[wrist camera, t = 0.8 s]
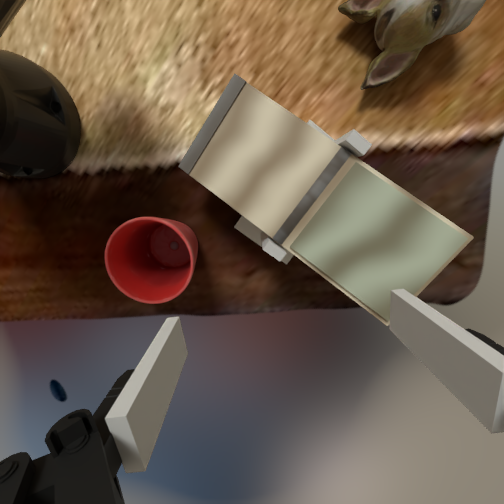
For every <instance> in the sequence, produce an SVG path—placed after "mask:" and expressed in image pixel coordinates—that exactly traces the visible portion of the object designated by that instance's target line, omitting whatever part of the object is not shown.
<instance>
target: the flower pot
mask: <svg viewBox="0 0 504 504" xmlns="http://www.w3.org/2000/svg"><path fill="white" fill-rule="evenodd" d="M197 253H198V241H197V238H196V235H195V234H194V232H193V231H192V230H191V229H190V228H189V227H188V226H187V225H185V224H184V223H181V222H179V221H175V220H170V219H163V218H157V217H139V218H134V219H131V220H129V221H127V222H125V223H123V224H122V225H120V226H119V227H118V228H117V229H116V230H115V231H114V232H113V233H112V234H111V236H110V238H109V240H108V242H107V244H106V249H105V265H106V269H107V272H108V275H109V277H110V278H111V280H112V282H113V283H114V285H115V286H116V287H117V288H118V289H119V290H120V291H121V292H122V293H124V294H125V295H126V296H128V297H130V298H132V299H134V300H136V301H139V302H142V303H148V304H159V303H164V302H168V301H170V300H172V299H174V298H176V297H177V296H179V295H180V294H181V293H182V292H183V291H184V290H185V289H186V287H187V286H188V284H189V283H190V281H191V278H192V276H193V273H194V269H195V264H196V259H197Z"/></svg>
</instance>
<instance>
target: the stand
mask: <svg viewBox="0 0 504 504" xmlns="http://www.w3.org/2000/svg"><path fill="white" fill-rule="evenodd" d="M307 124H308V125H310V126H311V127H313V128H314V129H316V130H317V131H319V132H320V133H322V134H323V135H325V136H326V137H327V138H329V139H330V140H332V141H333V142H335V143H336V144H338V145H339V146H341V147H343V148H345V149H346V150H348V151H349V152H350V153H351V154H352V155H354V156H355V157H359V156H362V155H364V154H365V153H366V152H367V150H368V149H369V148H370V146H371V145H372V144H371V143H370V142H368V141H367V140H366V139H365V138H364V137H362V136H361V135H360V134H359V133H358V132H357V131H355V130H354V129H353V130H352V131H350V132H348V133H347V134H345V135H343V136H342V137H340V138H338V139H337V140H334V139H333V138H331V137H330V136H329V135H328V134H327V133H325V132H324V131H323V130H322V129H321V128H319V127H318V126H317V125H316V124H315V123H313V122H312V121H311V120H309V121H308V123H307ZM234 228H236V229H237V230H238V231H240V232H241V233H243V234H244V235H246V236H247V237H248V238H250V239H251V240H253V241H254V242H255V243H257V244H258V245H260V246H261V247H262V248H263V250H264V251H265V252H267V253H268V254H270V255H271V256H272V257H274V258H275V259H277V260H278V261H282V262H284V263H285V264H287V263H288V262H289V261H290V260H291V258H292V257H293V256H294V254H292V253H291V252H290V251H288V250H287V249H286V248H284V247H283V246H282V245H280V244H279V243H278V242H276V241H275V240H274V239H273V238H271V237H270V236H269V235H267V234H266V233H265V232H263V231H262V230H261V229H260V228H258V227H257V226H256V225H254V224H253V223H252V222H250V221H249V220H248V219H246V218H245V217H244V216H243V215H242V216H241V218H240V219H239V221H238V222H237V223H236V225H235V226H234Z"/></svg>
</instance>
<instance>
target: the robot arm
mask: <svg viewBox="0 0 504 504" xmlns="http://www.w3.org/2000/svg"><path fill="white" fill-rule="evenodd" d="M25 1H26V0H0V37H1V36H2V34H3V33H4V31H5V30H6V28H7V27H8V26H9V24H10V23H11V21H12V20H13V18H14V17H15V16H16V14H17V13H18V11H19V10H20V8H21V7H22V6H23V4H24V3H25ZM79 143H80V121H79V117H78V113H77V110H76V107H75V105H74V102H73V100H72V98H71V97H70V95H69V93H68V92H67V90H66V89H65V87H64V86H63V85H62V84H61V83H60V81H59V80H58V79H57V78H56V77H55V76H53V75H52V74H51V73H50V72H48V71H47V70H46V69H44V68H43V67H41V66H39V65H37V64H36V63H34V62H32V61H30V60H29V59H27V58H25V57H23V56H21V55H18V54H16V53H13V52H10V51H6V50H1V49H0V172H2V173H4V174H7V175H11V176H16V177H22V178H47V177H51V176H54V175H56V174H58V173H60V172H62V171H63V170H64V169H65V168H67V167H68V166H69V164H70V163H71V162H72V160H73V159H74V157H75V155H76V153H77V150H78V147H79ZM390 330H391V331H392V332H393V333H394V334H395V335H396V336H397V337H398V338H399V340H400V341H401V342H402V343H403V344H404V345H405V346H406V347H407V348H409V350H410V351H411V352H412V353H413V354H414V355H415V356H416V357H417V358H418V359H419V360H420V361H421V362H422V363H423V364H424V365H425V366H426V367H427V368H428V369H429V370H430V371H431V372H432V373H433V374H434V375H435V376H436V377H437V378H438V379H439V380H440V381H441V382H442V383H443V384H444V385H445V386H446V387H447V389H449V391H450V392H451V393H452V394H453V395H455V397H456V398H457V399H458V400H459V401H460V402H461V403H462V404H463V405H464V406H465V407H466V408H467V409H468V410H469V411H470V412H471V413H472V414H473V415H474V416H475V417H476V418H477V419H478V420H479V421H480V422H481V423H482V424H483V425H484V426H485V427H486V428H487V429H488V430H489V431H490V432H491V433H499V432H504V347H502V346H501V345H499V344H496V343H495V342H494V341H493V340H491V339H490V338H488V337H486V336H485V335H483V334H481V333H478V332H476V331H473V330H471V329H463V328H462V327H460V326H459V325H457V324H456V323H454V322H453V321H451V320H450V319H448V318H447V317H445V316H444V315H442V314H441V313H439V312H438V311H436V310H435V309H433V308H432V307H430V306H429V305H427V304H426V303H424V302H423V301H421V300H420V299H418V298H417V297H415V296H414V295H412V294H411V293H409V292H408V291H406V290H405V289H396V290H391V297H390ZM187 355H188V351H187V347H186V343H185V339H184V334H183V331H182V326H181V322H180V318H179V317H171V318H167V319H166V321H165V322H164V324H163V325H162V327H161V329H160V330H159V332H158V333H157V335H156V337H155V338H154V340H153V342H152V343H151V345H150V347H149V348H148V350H147V351H146V353H145V354H144V356H143V358H142V359H141V361H140V363H139V364H138V366H137V367H136V369H133V370H127V371H126V372H125V373H124V374H123V375H122V376H120V377H119V378H118V379H117V381H116V382H115V384H114V385H113V387H112V389H111V390H110V391H109V393H108V394H107V395H106V398H105V399H104V400H103V402H102V403H101V404H100V406H99V407H98V409H97V410H96V412H95V413H94V415H93V416H92V414H91V412H90V411H89V410H87V409H80V410H76V411H74V412H72V413H70V414H68V415H66V416H65V417H63V418H61V419H60V420H59V421H58V422H57V423H55V424H54V425H53V426H52V427H51V429H50V430H49V432H48V433H47V435H46V438H45V442H46V444H47V446H48V448H49V450H50V452H51V453H50V454H47V455H45V456H42V457H40V458H38V459H35V460H32V459H31V457H30V456H29V455H28V453H26V452H20V453H17V454H14V455H11V456H9V457H8V458H6V459H4V460H3V461H1V462H0V504H125V503H124V499H123V496H122V492H121V488H120V485H119V481H118V478H117V476H116V474H117V472H118V470H119V468H120V465H121V463H122V464H123V466H124V469H125V472H126V473H133V472H141V471H146V468H147V465H148V463H149V460H150V457H151V454H152V452H153V449H154V446H155V443H156V441H157V438H158V435H159V432H160V430H161V427H162V424H163V421H164V419H165V416H166V413H167V410H168V408H169V405H170V402H171V399H172V397H173V394H174V391H175V388H176V386H177V382H178V380H179V377H180V374H181V372H182V369H183V366H184V363H185V361H186V358H187Z"/></svg>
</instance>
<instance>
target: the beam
mask: <svg viewBox="0 0 504 504" xmlns="http://www.w3.org/2000/svg"><path fill="white" fill-rule="evenodd" d="M178 167H179V168H181V169H182V170H183V171H185V172H186V173H187V174H189V175H190V176H192V177H193V178H194V179H195V180H197V181H198V182H199V183H201V184H202V185H203V186H205V187H206V188H207V189H209V190H210V191H211V192H212V193H214V194H215V195H216V196H218V197H219V198H220V199H222V200H223V201H224V202H226V203H227V204H228V205H229V206H231V207H232V208H233V209H235V210H236V211H237V212H239V213H240V214H241V215H243V216H244V217H245V218H246V219H248V220H249V221H250V222H252V223H253V224H254V225H256V226H257V227H258V228H260V229H261V230H262V231H263V232H265V233H266V234H267V235H269V236H270V237H271V238H273V239H274V240H275V241H276V242H278V243H279V244H280V245H282V246H283V247H284V248H286V249H287V250H288V251H290V252H291V253H292V254H294V255H295V256H296V257H297V258H299V259H300V260H301V261H303V262H304V263H305V264H307V265H308V266H309V267H311V268H312V269H313V270H314V271H316V272H317V273H318V274H320V275H321V276H322V277H324V278H325V279H326V280H328V281H329V282H330V283H331V284H333V285H334V286H335V287H337V288H338V289H339V290H341V291H342V292H343V293H345V294H346V295H347V296H348V297H350V298H351V299H352V300H354V301H355V302H356V303H358V304H359V305H360V306H362V307H363V308H364V309H366V310H367V311H368V312H370V313H371V314H372V315H373V316H375V317H376V318H378V319H379V320H380V321H381V322H382V323H384V324H385V325H387V326H388V325H389V324H390V297H391V290H396V289H405V290H406V291H408V292H409V293H411V294H412V295H414V296H415V297H417V295H418V294H419V293H420V292H421V291H422V290H423V289H424V288H425V287H426V286H427V285H428V284H429V283H430V282H431V281H432V280H433V279H434V278H435V277H436V276H437V275H438V274H439V273H440V272H441V271H442V270H443V269H444V268H445V267H446V266H447V265H448V264H449V263H450V262H451V261H452V260H453V259H454V258H455V256H456V255H457V254H458V253H459V252H460V251H461V250H462V249H463V248H464V247H465V246H466V245H467V244H468V243H469V242H470V241H471V240H472V239H473V238H474V237H473V236H471V235H470V234H468V233H467V232H465V231H464V230H463V229H461V228H460V227H458V226H457V225H455V224H454V223H452V222H451V221H449V220H448V219H446V218H445V217H443V216H442V215H441V214H439V213H438V212H436V211H435V210H433V209H432V208H430V207H429V206H427V205H426V204H424V203H423V202H421V201H420V200H418V199H417V198H416V197H414V196H413V195H411V194H410V193H408V192H407V191H405V190H404V189H402V188H401V187H399V186H398V185H396V184H395V183H394V182H392V181H391V180H389V179H388V178H386V177H385V176H383V175H382V174H380V173H379V172H377V171H376V170H374V169H373V168H372V167H370V166H369V165H367V164H366V163H364V162H363V161H361V160H360V159H358V158H357V157H355V156H354V155H352V154H351V153H350V152H349V151H348V150H346V149H345V148H343V147H341V146H339V145H338V144H336V143H335V142H333V141H332V140H330V139H329V138H327V137H326V136H325V135H323V134H322V133H320V132H319V131H317V130H316V129H314V128H313V127H311V126H310V125H308V124H307V123H305V122H304V121H303V120H301V119H300V118H298V117H297V116H295V115H294V114H292V113H291V112H289V111H288V110H286V109H285V108H283V107H282V106H280V105H279V104H278V103H276V102H275V101H273V100H272V99H270V98H269V97H267V96H266V95H264V94H263V93H261V92H260V91H258V90H257V89H256V88H254V87H253V86H251V85H250V84H248V83H247V82H246V81H245V80H243V79H242V78H241V77H239V76H238V75H236V74H234V75H233V77H232V79H231V80H230V82H229V84H228V85H227V87H226V89H225V90H224V92H223V93H222V95H221V97H220V98H219V100H218V102H217V103H216V105H215V107H214V108H213V110H212V112H211V113H210V115H209V117H208V118H207V120H206V122H205V123H204V125H203V127H202V128H201V130H200V131H199V133H198V135H197V136H196V138H195V140H194V141H193V143H192V145H191V146H190V148H189V150H188V151H187V153H186V155H185V156H184V158H183V160H182V161H181V163H180V165H179V166H178Z"/></svg>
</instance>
